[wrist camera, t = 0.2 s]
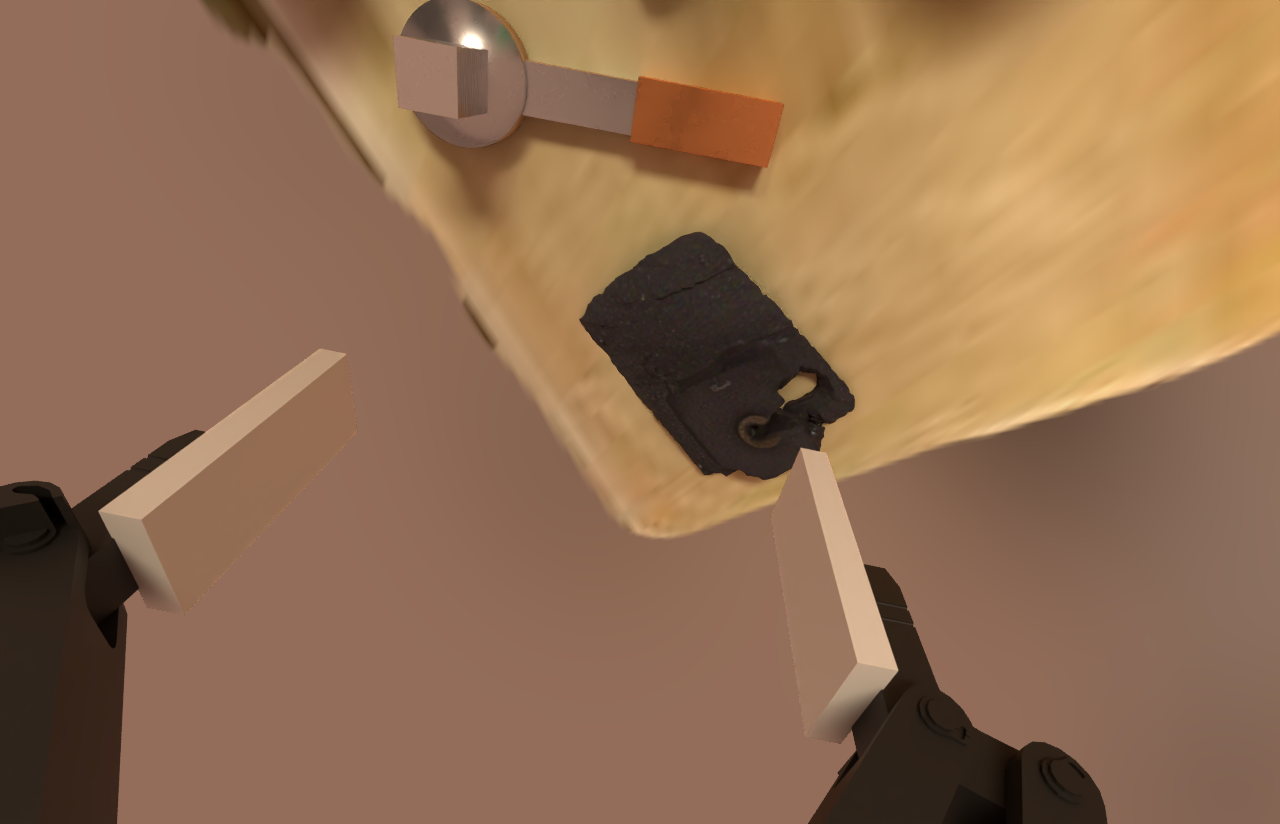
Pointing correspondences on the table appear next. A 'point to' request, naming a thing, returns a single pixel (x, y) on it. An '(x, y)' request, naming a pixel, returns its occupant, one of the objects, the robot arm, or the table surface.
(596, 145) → the table surface
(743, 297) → the dark slate chunk
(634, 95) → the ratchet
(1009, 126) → the table surface
